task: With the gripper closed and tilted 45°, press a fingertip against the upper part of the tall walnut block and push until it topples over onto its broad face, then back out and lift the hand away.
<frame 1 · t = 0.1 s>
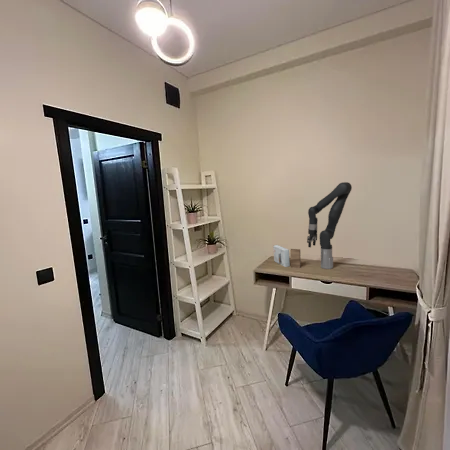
hand: (311, 246, 231), 17 cm above the table, tool pointing down, fingers open, 8 cm apart
walnut block: (295, 266, 230), on the table
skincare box: (281, 263, 242), on the table
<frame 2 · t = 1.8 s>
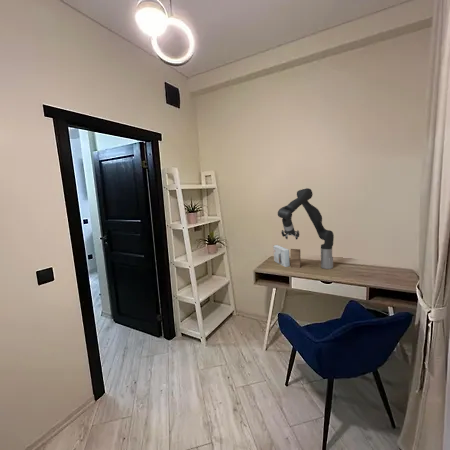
hand: (291, 238, 214), 29 cm above the table, tool tilted 45°, fingers open, 7 cm apart
nothing on the table moved.
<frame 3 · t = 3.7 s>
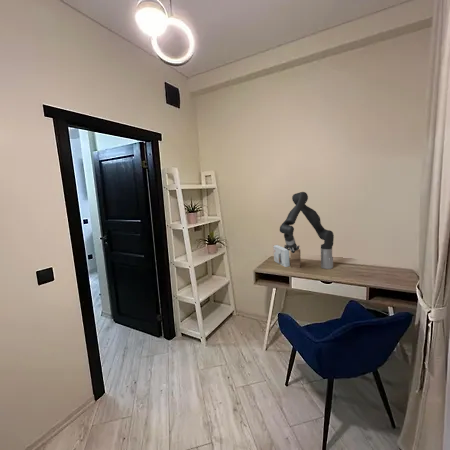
hand: (293, 252, 220), 16 cm above the table, tool tilted 45°, fingers closed
nothing on the table moved.
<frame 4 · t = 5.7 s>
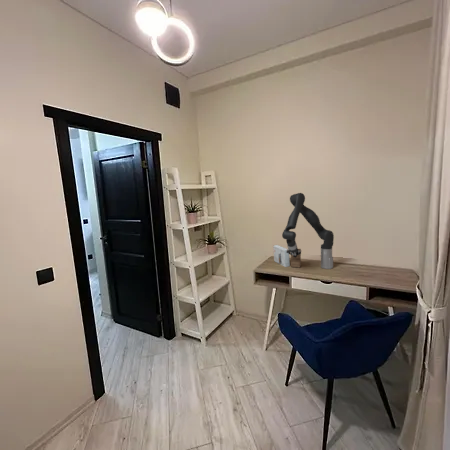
hand: (295, 256, 228), 10 cm above the table, tool tilted 45°, fingers closed
walnut block: (295, 266, 230), on the table, tilted 8°
everything else where it was.
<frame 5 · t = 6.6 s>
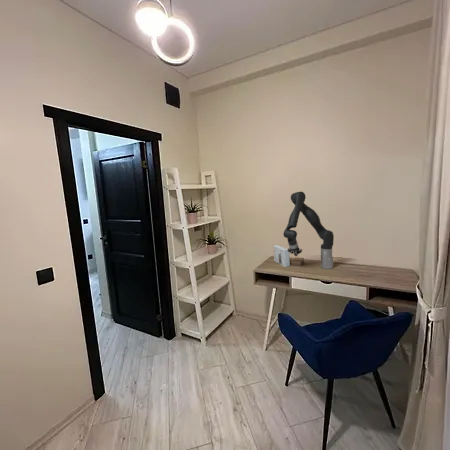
hand: (296, 255, 232), 10 cm above the table, tool tilted 45°, fingers closed
walnut block: (295, 264, 232), point 2 cm above the table, tilted 90°
everything else where it was.
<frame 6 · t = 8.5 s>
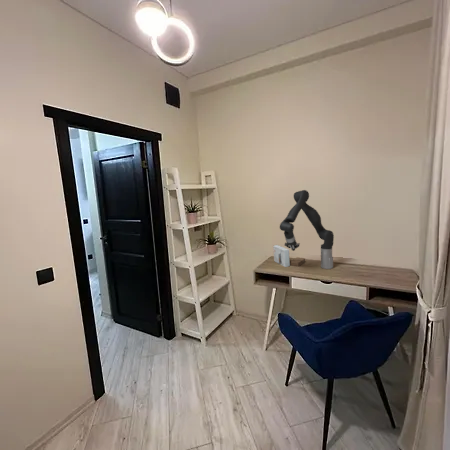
hand: (293, 249, 221), 17 cm above the table, tool tilted 45°, fingers closed
walnut block: (294, 264, 233), point 2 cm above the table, tilted 90°
everything else where it was.
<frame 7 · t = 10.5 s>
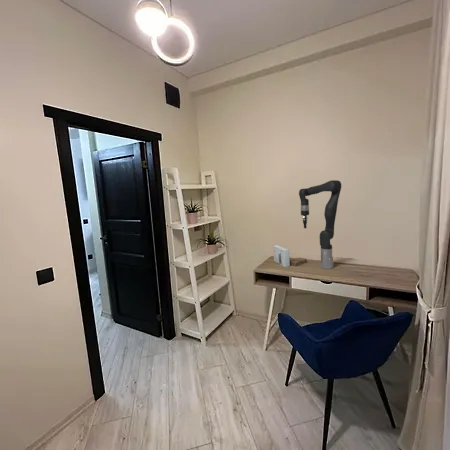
hand: (305, 228, 242), 32 cm above the table, tool pointing down, fingers closed
walnut block: (292, 263, 234), point 2 cm above the table, tilted 90°
everything else where it was.
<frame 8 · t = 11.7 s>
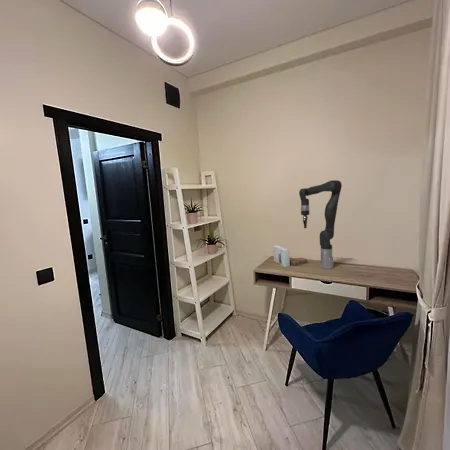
hand: (305, 228, 242), 32 cm above the table, tool pointing down, fingers closed
walnut block: (291, 263, 235), point 2 cm above the table, tilted 90°
everything else where it was.
at the end: walnut block tilted 90°; walnut block inside the target area (4.5 cm from its centre), point 1.6 cm above the table; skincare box moved 0.3 cm from its start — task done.
